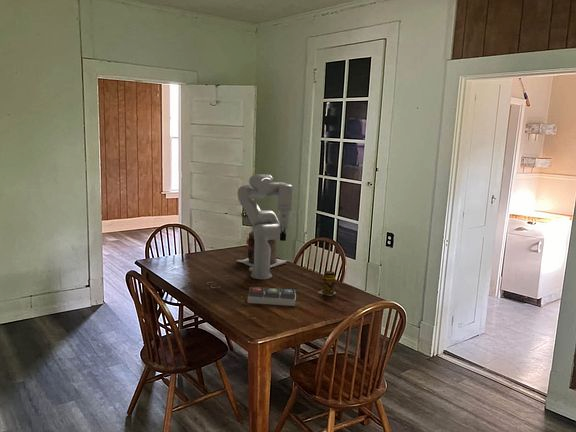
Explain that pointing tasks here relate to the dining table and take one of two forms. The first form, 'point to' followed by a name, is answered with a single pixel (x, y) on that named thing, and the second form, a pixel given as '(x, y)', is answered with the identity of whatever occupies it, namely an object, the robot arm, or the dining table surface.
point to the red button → (257, 289)
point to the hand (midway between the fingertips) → (282, 240)
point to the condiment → (328, 284)
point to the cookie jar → (251, 250)
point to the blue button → (288, 291)
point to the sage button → (272, 290)
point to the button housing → (272, 297)
